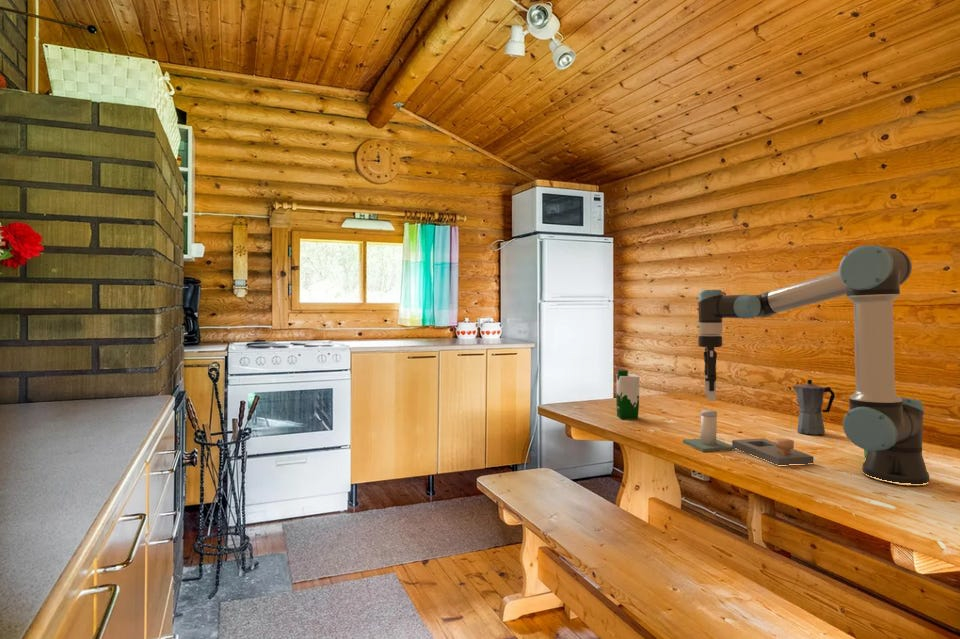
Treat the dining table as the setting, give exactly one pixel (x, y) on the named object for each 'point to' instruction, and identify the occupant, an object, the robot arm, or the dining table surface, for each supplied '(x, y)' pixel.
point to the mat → (702, 447)
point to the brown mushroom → (784, 446)
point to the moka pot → (812, 407)
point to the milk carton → (627, 395)
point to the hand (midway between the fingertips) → (710, 397)
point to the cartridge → (708, 427)
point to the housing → (771, 452)
